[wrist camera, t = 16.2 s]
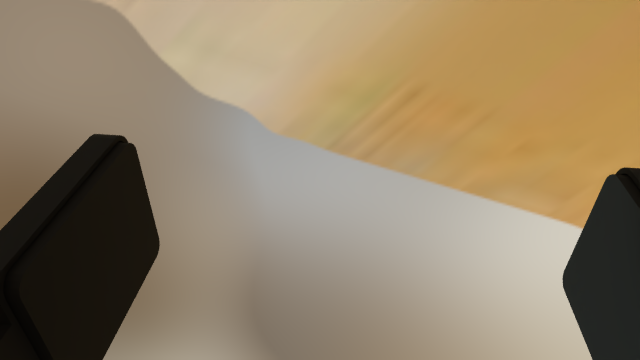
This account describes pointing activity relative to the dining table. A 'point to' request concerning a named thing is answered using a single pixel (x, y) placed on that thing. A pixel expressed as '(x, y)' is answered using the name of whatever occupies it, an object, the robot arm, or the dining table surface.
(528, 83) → the dining table surface
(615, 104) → the dining table surface
